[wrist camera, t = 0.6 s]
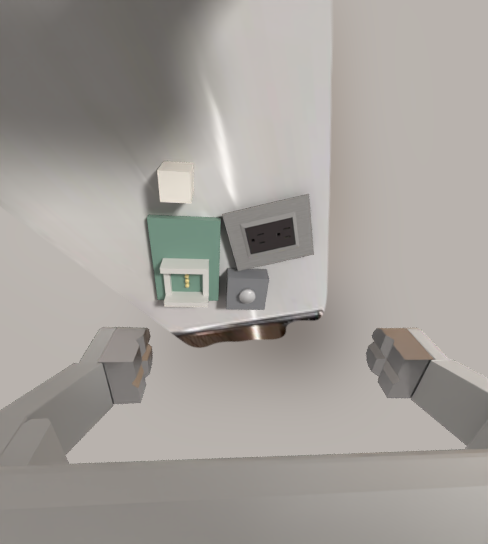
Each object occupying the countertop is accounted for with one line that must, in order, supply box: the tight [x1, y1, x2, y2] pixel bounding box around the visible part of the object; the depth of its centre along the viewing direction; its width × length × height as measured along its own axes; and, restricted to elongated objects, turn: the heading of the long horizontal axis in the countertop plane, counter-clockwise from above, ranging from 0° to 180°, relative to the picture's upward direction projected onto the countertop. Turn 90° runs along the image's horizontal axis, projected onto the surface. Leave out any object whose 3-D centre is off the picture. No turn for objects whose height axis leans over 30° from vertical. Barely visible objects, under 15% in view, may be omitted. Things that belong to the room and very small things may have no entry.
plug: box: [157, 161, 194, 203], centre depth 37 cm, size 5×4×5 cm
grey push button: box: [226, 268, 269, 310], centre depth 49 cm, size 7×7×4 cm
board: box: [147, 215, 221, 307], centre depth 45 cm, size 16×11×4 cm
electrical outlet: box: [222, 194, 314, 271], centre depth 44 cm, size 13×10×2 cm
